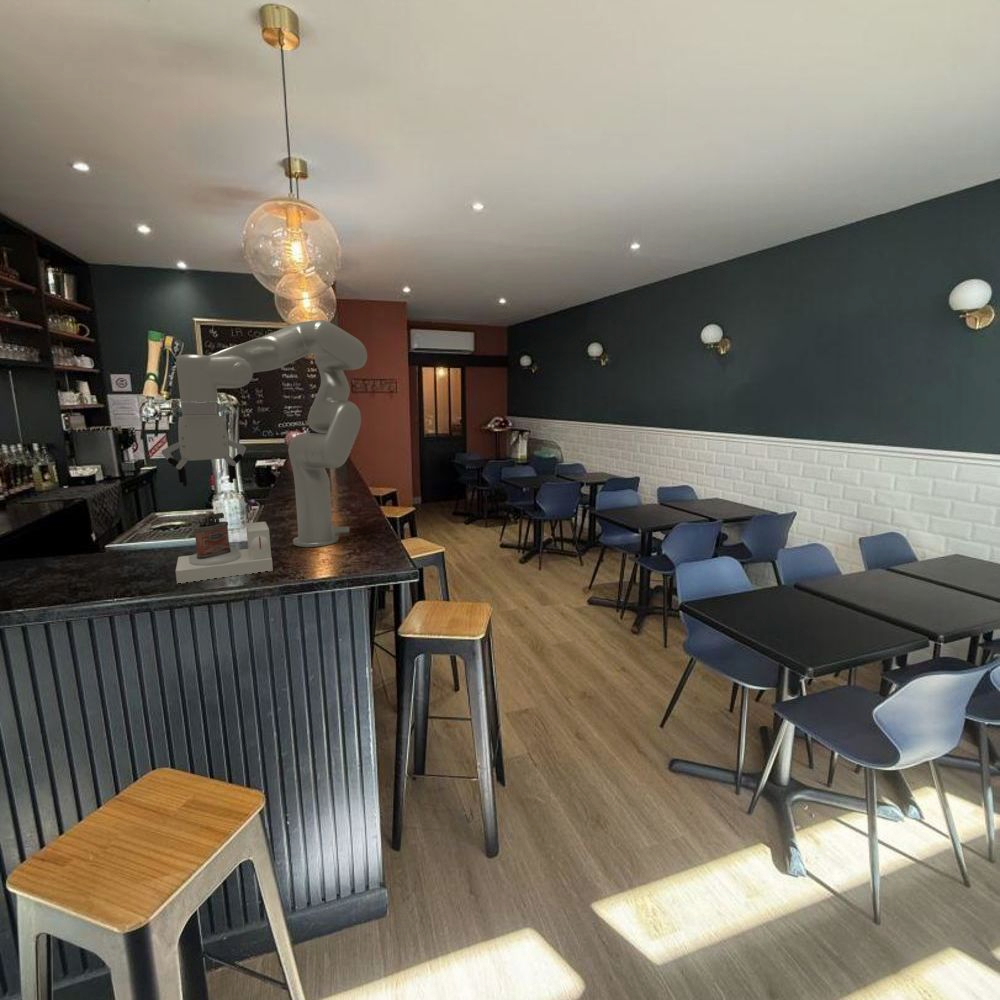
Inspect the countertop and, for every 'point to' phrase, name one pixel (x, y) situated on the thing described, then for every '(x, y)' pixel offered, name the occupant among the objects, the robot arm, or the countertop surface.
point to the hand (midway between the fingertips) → (208, 483)
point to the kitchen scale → (230, 559)
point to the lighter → (211, 536)
